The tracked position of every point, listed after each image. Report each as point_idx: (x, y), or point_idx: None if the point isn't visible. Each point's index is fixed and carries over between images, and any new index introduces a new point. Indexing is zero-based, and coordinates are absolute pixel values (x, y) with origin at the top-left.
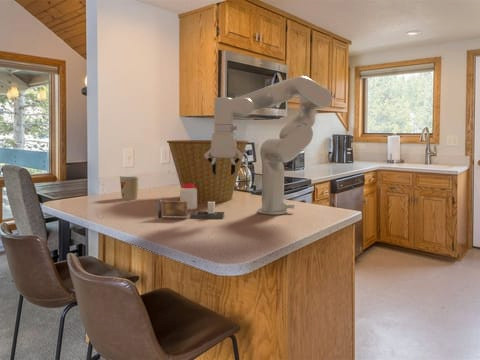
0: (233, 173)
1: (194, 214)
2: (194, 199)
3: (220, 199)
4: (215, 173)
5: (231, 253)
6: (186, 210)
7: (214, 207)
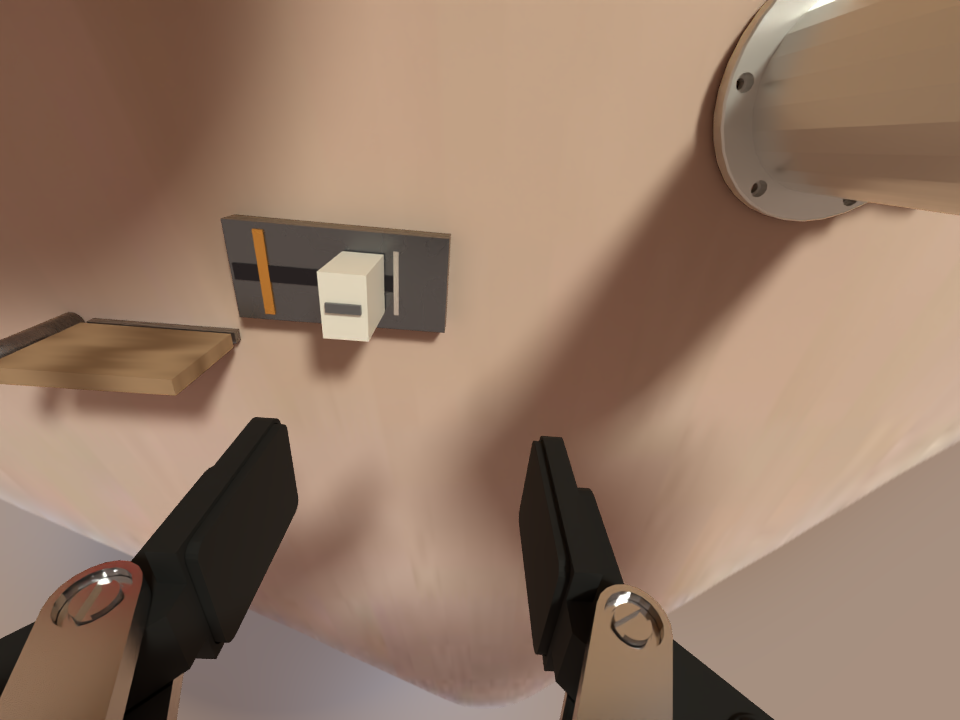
0: (560, 444)
1: (265, 318)
2: None
3: None
4: (294, 512)
5: (489, 670)
6: (211, 364)
7: (376, 288)
